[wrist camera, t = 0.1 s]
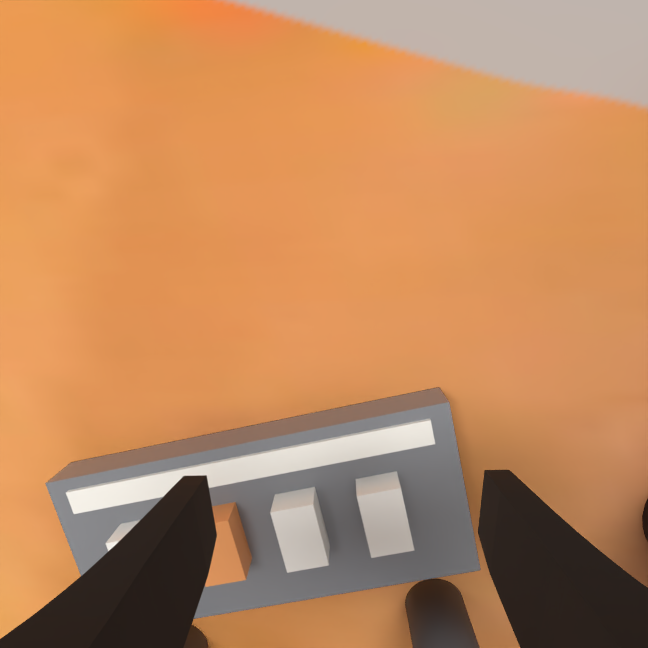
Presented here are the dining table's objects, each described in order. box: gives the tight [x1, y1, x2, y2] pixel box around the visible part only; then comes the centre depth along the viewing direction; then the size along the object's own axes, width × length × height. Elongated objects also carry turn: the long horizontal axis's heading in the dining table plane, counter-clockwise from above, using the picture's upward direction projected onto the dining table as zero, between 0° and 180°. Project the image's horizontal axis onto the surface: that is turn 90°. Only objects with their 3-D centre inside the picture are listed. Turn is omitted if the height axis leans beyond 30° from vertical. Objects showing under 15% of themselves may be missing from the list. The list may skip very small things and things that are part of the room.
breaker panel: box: [46, 387, 480, 619], centre depth 21 cm, size 20×9×3 cm, turn 103°
